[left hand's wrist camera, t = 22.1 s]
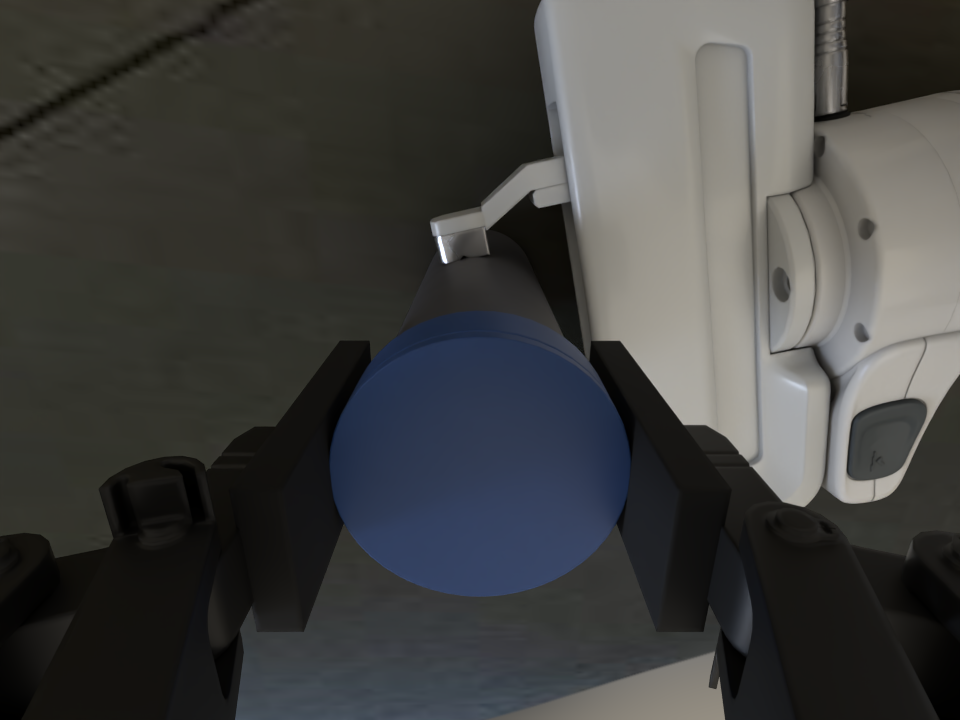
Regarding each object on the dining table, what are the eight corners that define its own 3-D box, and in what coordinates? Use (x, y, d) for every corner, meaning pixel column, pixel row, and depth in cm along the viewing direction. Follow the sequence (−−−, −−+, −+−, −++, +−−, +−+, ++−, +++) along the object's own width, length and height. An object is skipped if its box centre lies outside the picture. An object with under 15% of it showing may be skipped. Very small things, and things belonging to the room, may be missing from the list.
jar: (551, 299, 26) (644, 488, 11) (463, 350, 27) (443, 585, 12) (498, 207, 25) (526, 287, 10) (406, 265, 26) (306, 416, 11)
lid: (568, 560, 13) (580, 618, 11) (332, 515, 13) (310, 569, 11) (647, 343, 11) (677, 376, 9) (371, 280, 11) (351, 303, 9)
